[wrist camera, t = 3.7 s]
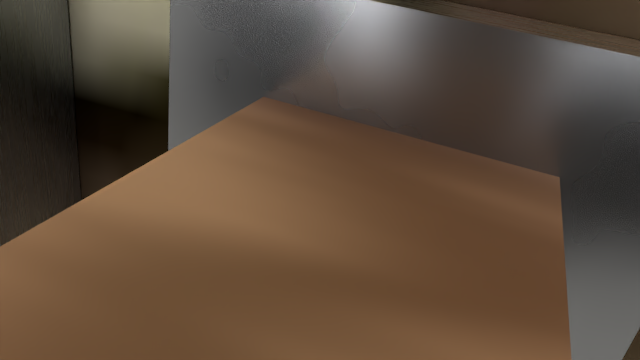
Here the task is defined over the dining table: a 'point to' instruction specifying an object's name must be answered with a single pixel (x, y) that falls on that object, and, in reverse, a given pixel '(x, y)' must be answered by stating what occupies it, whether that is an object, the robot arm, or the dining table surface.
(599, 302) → the tray
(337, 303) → the peg
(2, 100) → the plate
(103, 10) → the dining table surface
